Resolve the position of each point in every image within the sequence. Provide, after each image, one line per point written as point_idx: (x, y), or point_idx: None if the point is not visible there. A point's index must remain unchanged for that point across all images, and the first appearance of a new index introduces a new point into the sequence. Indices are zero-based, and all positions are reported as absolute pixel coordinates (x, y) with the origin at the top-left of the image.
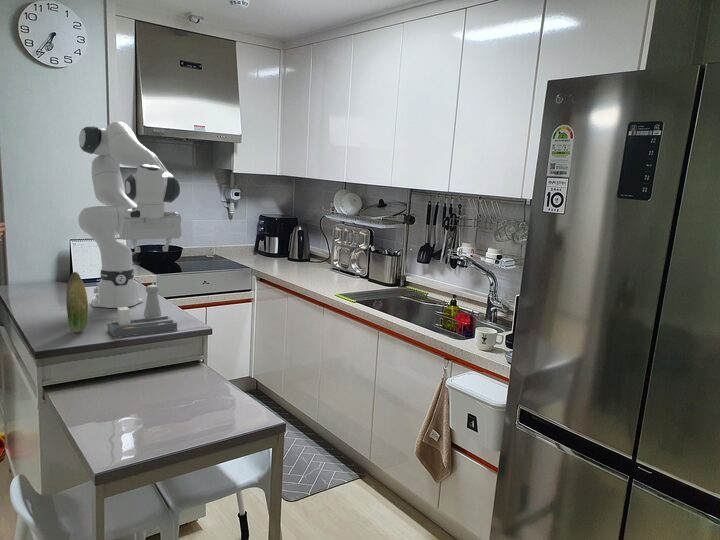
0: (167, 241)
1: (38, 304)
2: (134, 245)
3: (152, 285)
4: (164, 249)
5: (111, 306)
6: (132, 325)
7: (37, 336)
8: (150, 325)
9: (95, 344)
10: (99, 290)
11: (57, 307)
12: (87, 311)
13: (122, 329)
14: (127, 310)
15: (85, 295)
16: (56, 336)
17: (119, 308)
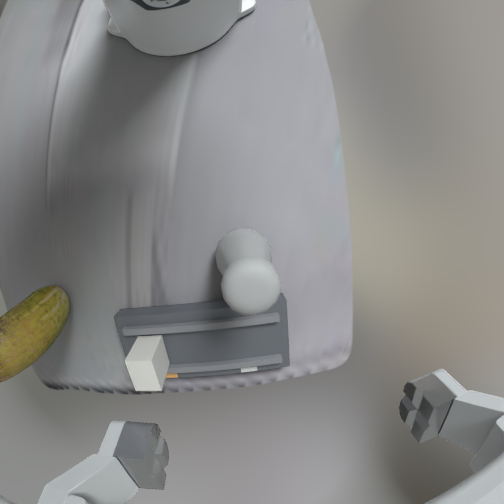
0: (470, 464)
1: (28, 14)
2: (105, 501)
3: (254, 290)
4: (409, 422)
5: (148, 51)
6: (174, 371)
7: (9, 294)
8: (219, 371)
9: (110, 392)
10: (109, 9)
11: (45, 35)
12: (56, 335)
13: None
14: (155, 389)
15: (31, 361)
16: None
17: (131, 371)
